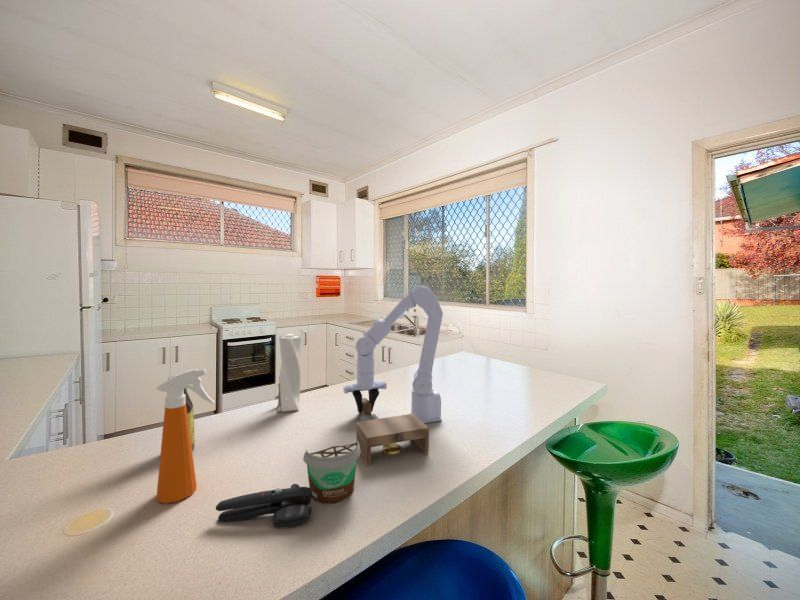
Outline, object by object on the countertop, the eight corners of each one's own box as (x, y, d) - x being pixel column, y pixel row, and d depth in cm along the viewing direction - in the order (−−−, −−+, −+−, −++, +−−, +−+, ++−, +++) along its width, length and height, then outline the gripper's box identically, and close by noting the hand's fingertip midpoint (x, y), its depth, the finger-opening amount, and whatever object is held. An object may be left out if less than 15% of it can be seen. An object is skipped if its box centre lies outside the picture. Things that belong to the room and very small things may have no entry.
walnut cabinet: (412, 437, 98) (413, 413, 97) (429, 454, 88) (430, 428, 87) (356, 447, 91) (356, 422, 91) (367, 467, 81) (368, 439, 81)
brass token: (396, 445, 93) (396, 441, 93) (403, 454, 89) (404, 449, 88) (379, 448, 91) (380, 444, 91) (386, 457, 87) (386, 453, 87)
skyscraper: (302, 403, 123) (302, 328, 122) (303, 411, 115) (303, 331, 114) (277, 405, 120) (277, 328, 119) (277, 414, 113) (276, 332, 111)
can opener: (315, 504, 68) (316, 477, 68) (309, 529, 61) (309, 499, 61) (225, 507, 66) (225, 480, 66) (208, 534, 60) (207, 503, 59)
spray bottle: (211, 497, 69) (209, 372, 68) (150, 507, 66) (147, 375, 65) (219, 478, 76) (218, 364, 74) (164, 486, 73) (161, 366, 71)
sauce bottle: (200, 448, 89) (199, 375, 88) (178, 459, 83) (176, 381, 82) (182, 444, 91) (181, 372, 90) (159, 455, 86) (157, 378, 84)
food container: (309, 515, 64) (309, 464, 64) (302, 496, 70) (303, 450, 69) (368, 497, 70) (369, 450, 70) (358, 481, 76) (358, 438, 75)
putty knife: (369, 411, 117) (369, 397, 116) (392, 439, 96) (393, 422, 96) (355, 413, 115) (355, 399, 114) (376, 442, 94) (376, 425, 94)
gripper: (381, 367, 119) (381, 404, 119) (341, 370, 113) (341, 410, 114) (389, 372, 112) (388, 411, 113) (346, 376, 107) (346, 417, 107)
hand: (365, 411), depth 113 cm, fingers open, 3 cm apart
